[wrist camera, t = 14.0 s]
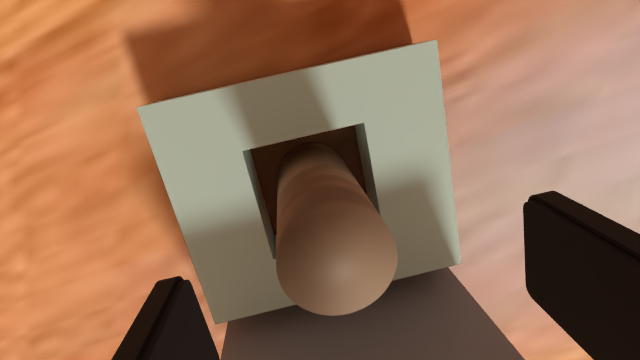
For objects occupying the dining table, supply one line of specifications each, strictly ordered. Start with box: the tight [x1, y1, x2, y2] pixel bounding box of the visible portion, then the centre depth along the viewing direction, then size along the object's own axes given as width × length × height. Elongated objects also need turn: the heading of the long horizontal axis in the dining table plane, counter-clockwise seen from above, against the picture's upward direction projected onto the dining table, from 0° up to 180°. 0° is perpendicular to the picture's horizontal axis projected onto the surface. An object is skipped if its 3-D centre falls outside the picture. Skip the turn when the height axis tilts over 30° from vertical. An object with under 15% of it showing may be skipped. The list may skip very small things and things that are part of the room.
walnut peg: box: [276, 143, 398, 316], centre depth 17 cm, size 4×4×10 cm
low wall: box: [221, 267, 525, 360], centre depth 20 cm, size 14×2×10 cm, turn 102°
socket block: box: [136, 40, 461, 324], centre depth 20 cm, size 14×12×3 cm
